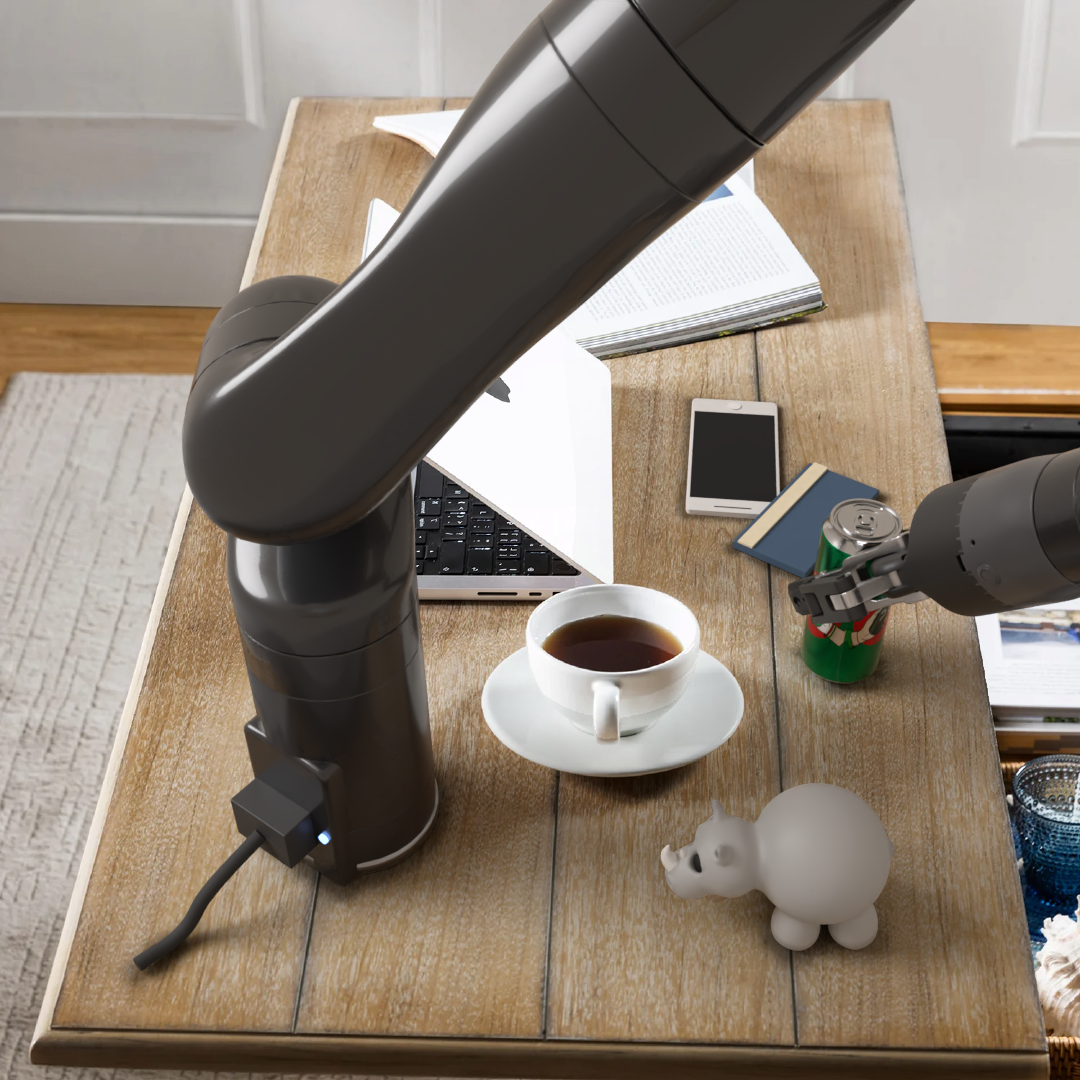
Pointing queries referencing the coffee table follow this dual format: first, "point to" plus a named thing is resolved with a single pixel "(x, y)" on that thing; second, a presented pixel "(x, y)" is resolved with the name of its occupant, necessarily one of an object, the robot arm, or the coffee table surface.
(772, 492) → the smartphone
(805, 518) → the notebook
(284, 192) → the coffee table surface
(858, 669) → the soda can
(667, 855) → the toy rhinoceros
